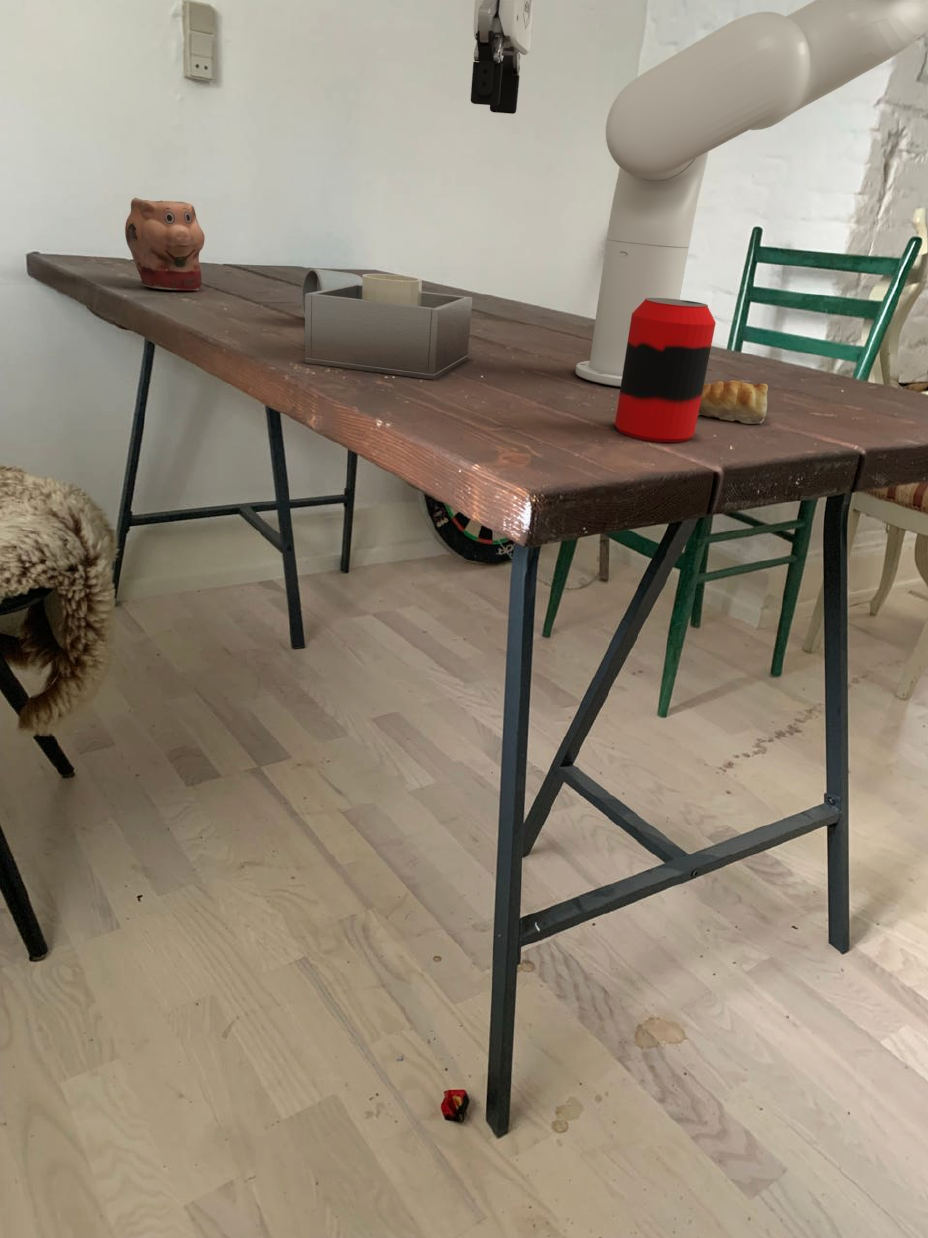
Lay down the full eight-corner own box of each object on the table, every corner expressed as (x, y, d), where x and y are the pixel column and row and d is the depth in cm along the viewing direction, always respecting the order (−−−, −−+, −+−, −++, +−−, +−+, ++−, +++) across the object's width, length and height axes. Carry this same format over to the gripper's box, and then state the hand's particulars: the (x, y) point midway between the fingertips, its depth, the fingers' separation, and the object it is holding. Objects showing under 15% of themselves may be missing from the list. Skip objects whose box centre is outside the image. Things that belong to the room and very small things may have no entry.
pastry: (675, 415, 95) (682, 378, 94) (675, 403, 101) (681, 368, 100) (766, 426, 94) (775, 389, 92) (761, 414, 100) (769, 378, 98)
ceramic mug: (372, 328, 132) (374, 272, 129) (320, 329, 128) (321, 270, 125) (341, 318, 140) (341, 265, 137) (291, 318, 136) (291, 263, 133)
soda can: (710, 440, 86) (736, 308, 81) (652, 445, 82) (676, 307, 77) (654, 421, 92) (676, 296, 87) (598, 425, 88) (617, 295, 83)
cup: (423, 355, 112) (428, 278, 108) (407, 363, 106) (411, 282, 102) (371, 348, 114) (374, 272, 110) (351, 356, 107) (354, 275, 104)
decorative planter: (109, 280, 159) (102, 192, 153) (175, 280, 166) (171, 197, 160) (157, 295, 146) (151, 200, 140) (226, 295, 153) (224, 205, 147)
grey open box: (467, 359, 116) (472, 297, 112) (434, 380, 102) (438, 309, 98) (352, 345, 118) (353, 283, 115) (304, 362, 105) (305, 293, 101)
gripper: (528, -95, 90) (510, 103, 97) (555, -51, 105) (538, 117, 112) (455, -97, 91) (443, 98, 98) (492, -53, 106) (479, 113, 114)
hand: (494, 108), depth 105 cm, fingers open, 9 cm apart
